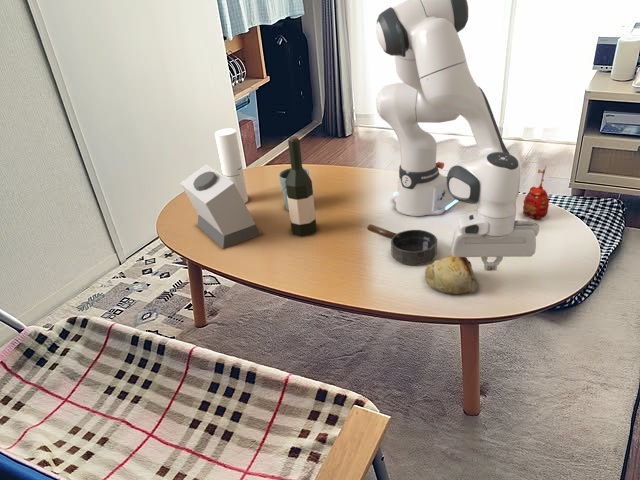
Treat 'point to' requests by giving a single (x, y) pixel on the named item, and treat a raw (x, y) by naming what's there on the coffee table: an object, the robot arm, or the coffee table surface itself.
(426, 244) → the pan
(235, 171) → the cylindrical container
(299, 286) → the coffee table surface
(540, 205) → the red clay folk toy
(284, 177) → the drinking glass
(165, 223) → the coffee table surface
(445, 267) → the pastry
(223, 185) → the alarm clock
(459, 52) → the robot arm
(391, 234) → the pan handle
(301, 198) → the wine bottle
